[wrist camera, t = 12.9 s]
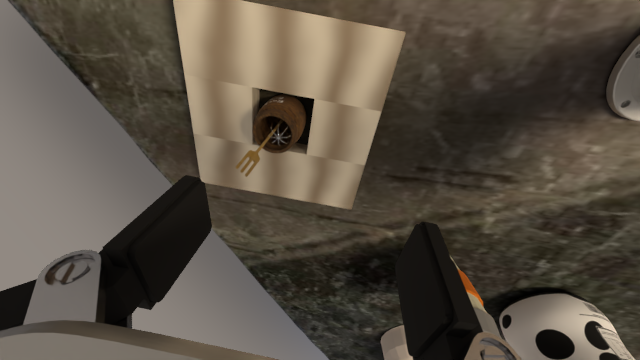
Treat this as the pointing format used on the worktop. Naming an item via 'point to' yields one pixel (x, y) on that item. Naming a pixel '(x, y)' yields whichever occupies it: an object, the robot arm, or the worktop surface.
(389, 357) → the kettle
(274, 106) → the utensil holder
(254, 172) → the socket board
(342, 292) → the worktop surface
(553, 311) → the milk container
